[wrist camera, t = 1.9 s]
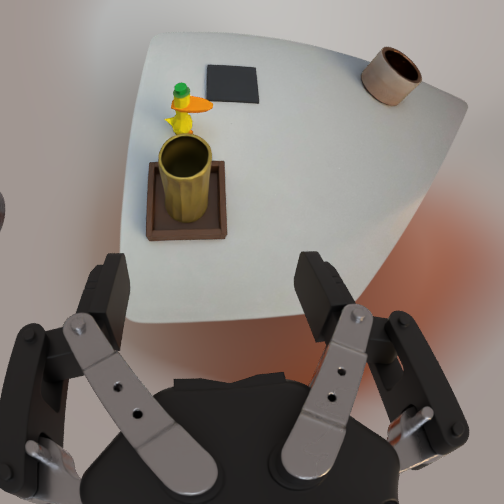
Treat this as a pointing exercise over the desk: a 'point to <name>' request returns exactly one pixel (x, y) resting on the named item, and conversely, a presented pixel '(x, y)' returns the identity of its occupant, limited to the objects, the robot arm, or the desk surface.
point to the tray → (205, 227)
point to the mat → (232, 84)
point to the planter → (391, 76)
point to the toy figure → (186, 109)
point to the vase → (185, 176)
